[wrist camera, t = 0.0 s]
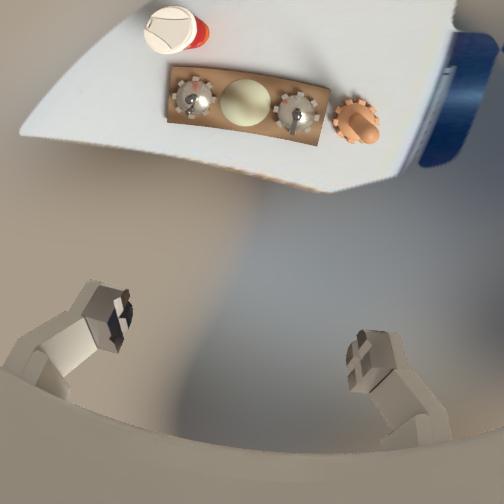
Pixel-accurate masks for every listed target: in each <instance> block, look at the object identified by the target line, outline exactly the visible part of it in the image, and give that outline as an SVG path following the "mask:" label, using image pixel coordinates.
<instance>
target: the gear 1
mask: <svg viewBox="0 0 504 504" xmlns="http://www.w3.org/2000/svg"><path fill="white" fill-rule="evenodd" d="M200 78H201V76H193V79H192V81H189V82H186V81H185V80H184V79H183V80H181V81H180V82H179V83H178V85H179V86H180V88H179V89H178V91H177V93H176V92H174V93H172V99H176V101H177V104H178V107H177V108H176V110H177V112H178V113H180V112H182V111H183V112H185V113H186V115H189V118H191V119H195V118H196V115H197V114H200V113H203V114H204V116H205V115H207V114H208V113H209V112H211V110H210V109H209V106H210V105H211V103H216V102H217V96H213V93H212V90H211V88H212V87H214V85H213V84H212V83H211V81H210V82H208V83H207V84H206V83H205V82H203V81H200Z"/></svg>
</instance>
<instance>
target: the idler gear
mask: <svg viewBox="0 0 504 504" xmlns="http://www.w3.org/2000/svg"><path fill="white" fill-rule="evenodd" d="M344 102H345V104H346V105H344V106H343V107H342V108H341V107H340V106H337V107H336V109H335V112H336V113H338V115H337V118H333V125H334V126H338V127H339V129H338V130H337V131H336V132H337V133H338V135H339V136H340V137H341V138H342V137H344V136H346V137H347V142H349V143H352V144H354V143H355V140H360V142H361V143H362V144H363V143H366V144H373V143H375V142H376V141H377V140H378V138H379V131H378V129H377V128H376V127H375V125H379V118H377V117H374V113H375V112H376V110H375V109H374V107H373V106H371V105H370V106H368V107H366V106H365V104H366V101H364V100H361V99H358V100H357V102H352V100H351V99H347V100H344Z"/></svg>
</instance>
